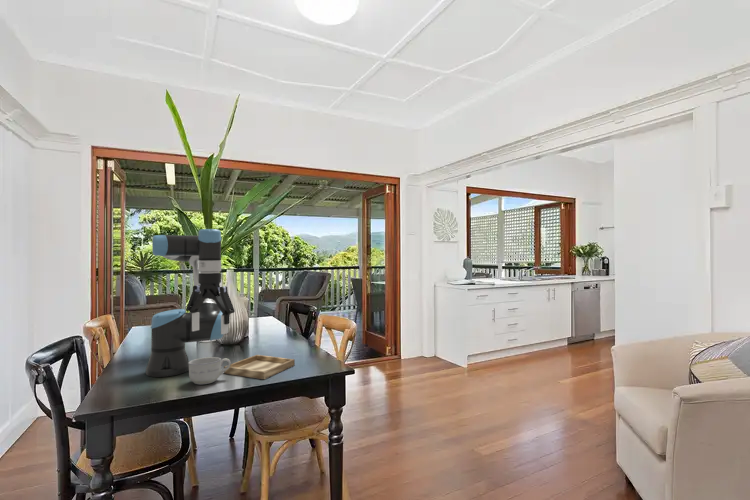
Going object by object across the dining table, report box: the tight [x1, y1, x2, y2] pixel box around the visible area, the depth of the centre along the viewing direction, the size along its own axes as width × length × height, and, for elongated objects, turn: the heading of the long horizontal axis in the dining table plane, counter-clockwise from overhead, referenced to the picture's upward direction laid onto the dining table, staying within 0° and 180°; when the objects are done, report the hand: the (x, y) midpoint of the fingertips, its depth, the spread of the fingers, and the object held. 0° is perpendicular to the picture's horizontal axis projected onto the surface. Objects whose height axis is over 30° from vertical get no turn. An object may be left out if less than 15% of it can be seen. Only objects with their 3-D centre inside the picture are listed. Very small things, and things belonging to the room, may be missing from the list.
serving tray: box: [223, 354, 296, 380], centre depth 158 cm, size 19×19×2 cm
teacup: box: [188, 356, 232, 386], centre depth 143 cm, size 14×11×8 cm
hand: (209, 332), depth 143 cm, fingers open, 13 cm apart
